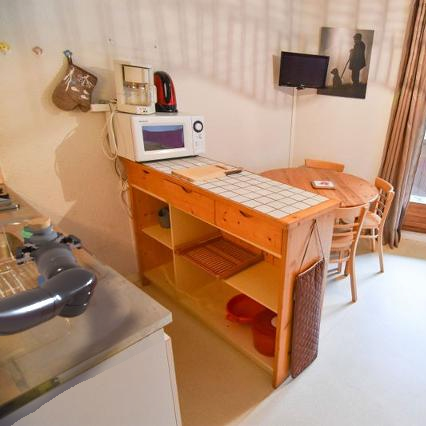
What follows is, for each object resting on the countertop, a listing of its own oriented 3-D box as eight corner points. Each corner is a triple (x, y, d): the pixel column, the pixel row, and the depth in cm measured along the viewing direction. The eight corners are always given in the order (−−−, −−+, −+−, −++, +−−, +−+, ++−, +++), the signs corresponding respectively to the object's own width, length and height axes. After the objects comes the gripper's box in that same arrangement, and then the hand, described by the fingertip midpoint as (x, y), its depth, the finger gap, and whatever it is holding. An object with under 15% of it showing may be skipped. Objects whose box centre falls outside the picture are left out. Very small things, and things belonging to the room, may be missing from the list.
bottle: (67, 268, 91) (54, 221, 86) (40, 275, 87) (25, 226, 82) (63, 260, 95) (51, 214, 89) (38, 266, 91) (23, 219, 85)
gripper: (87, 240, 83) (71, 220, 93) (13, 259, 73) (4, 233, 83) (93, 265, 86) (76, 242, 96) (23, 286, 76) (12, 258, 86)
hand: (43, 238), depth 89 cm, fingers closed on bottle, 6 cm apart
